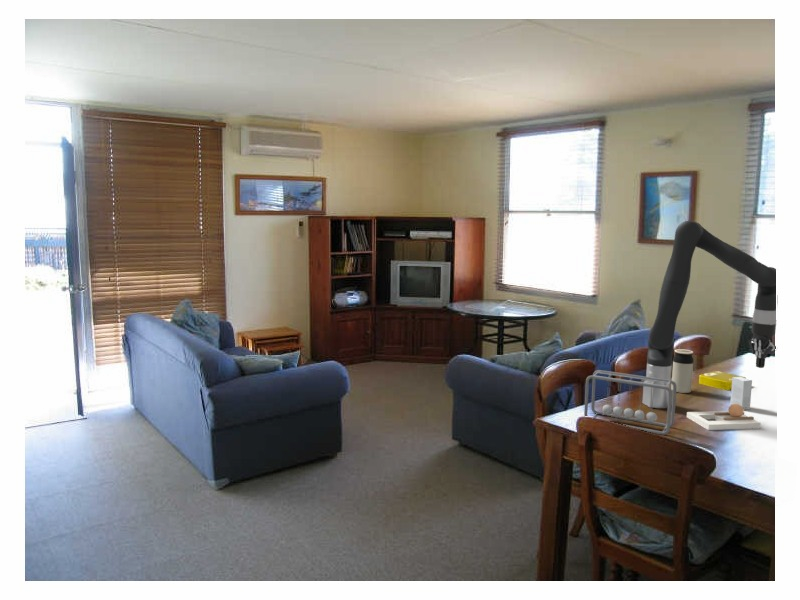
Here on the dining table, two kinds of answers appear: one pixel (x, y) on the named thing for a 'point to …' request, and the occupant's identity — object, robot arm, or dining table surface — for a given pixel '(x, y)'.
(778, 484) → the dining table surface
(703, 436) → the dining table surface
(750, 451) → the dining table surface
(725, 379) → the element tile
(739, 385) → the skincare box
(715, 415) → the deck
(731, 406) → the ball
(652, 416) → the newton's cradle
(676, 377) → the travel mug
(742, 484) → the dining table surface
